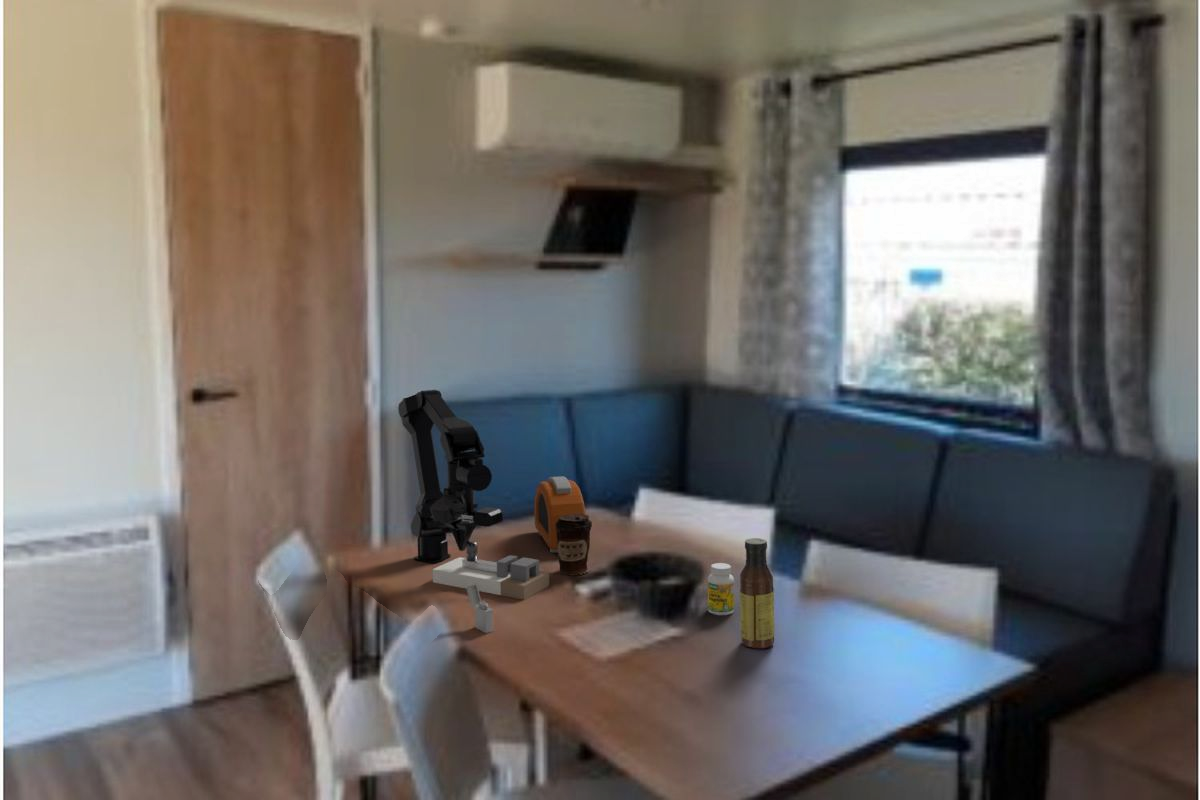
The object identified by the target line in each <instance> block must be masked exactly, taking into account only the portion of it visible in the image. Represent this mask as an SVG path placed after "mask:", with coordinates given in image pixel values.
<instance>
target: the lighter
mask: <svg viewBox="0 0 1200 800" xmlns="http://www.w3.org/2000/svg"><path fill="white" fill-rule="evenodd" d="M465 589H466V592H467V596H468V600H469V604H470V607H471V608H474V623H475V624H474V628H476V629H477V630H479V631H481V632H483V633H485V634H488V633H492V632H494V612H493V611H494V610H493V609H492V608H491V607H489V603H488V602H485V601H484V600H482V599H481V594H480V591H478V587H477V584H472V585H469V586H467V587H466V588H465Z"/></svg>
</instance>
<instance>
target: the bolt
mask: <svg viewBox="0 0 1200 800" xmlns="http://www.w3.org/2000/svg"><path fill="white" fill-rule="evenodd" d="M465 550H466V557H464V558H465V559H463V560H462V567H466V568H472V569H477V570H483V571H489V572H494V573H497V561H491V560H490V561H489V560H483V559H479V558H478V557H479V554H478V541H476V540H475V541H474V540H469V541H468V542H466V548H465Z"/></svg>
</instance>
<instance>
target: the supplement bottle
mask: <svg viewBox="0 0 1200 800" xmlns="http://www.w3.org/2000/svg"><path fill="white" fill-rule="evenodd" d="M710 572H711V573H710V575H709V576H708V577H707V611H708V613H710V614H712V615H716V616H728V615H731V614H733V612H734V611H735V578H734V575H732V574H731V573H732V566H731V565H730V564H728V563H724V562H718V563H717V562H716V563H712V564H711V565H710Z"/></svg>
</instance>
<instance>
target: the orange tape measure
mask: <svg viewBox="0 0 1200 800" xmlns="http://www.w3.org/2000/svg"><path fill="white" fill-rule="evenodd" d="M567 514H584V515H587V514H586V507H585V502H584V498H583V495H582V492H581V489H580V487H579V485H577V483H576V482H575V481H573V480H571V479H568V478H567V477H566V476H562V475H561V476H550V477H548V478H547V480H546V481H540V482H539V483H538V486H537V487H536V491H535V496H534V526H535V529H536V530H537V532H538V535H539V536H540V537H542V539H543V540H544V542H545V544H546V545H547V547H548V548H549V552H550V553H558V546H557V534H556V526H555V525H556V522H557V521H558V520H559V517H560V516H564V515H567Z"/></svg>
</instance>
